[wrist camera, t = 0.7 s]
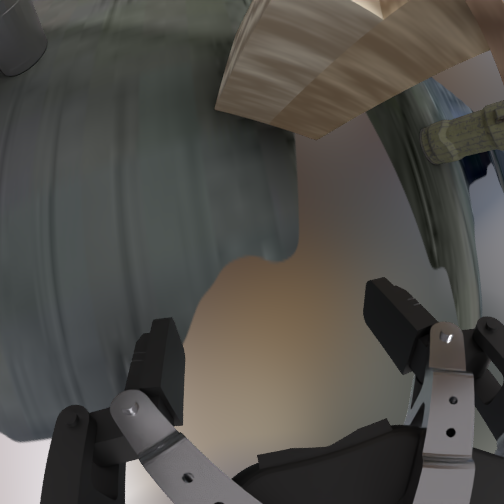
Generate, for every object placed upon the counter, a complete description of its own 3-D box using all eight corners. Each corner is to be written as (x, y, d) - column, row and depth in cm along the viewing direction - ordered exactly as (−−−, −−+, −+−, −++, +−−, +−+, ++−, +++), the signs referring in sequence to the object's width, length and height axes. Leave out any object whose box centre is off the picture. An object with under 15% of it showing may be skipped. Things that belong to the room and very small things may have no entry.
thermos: (410, 122, 48) (549, 74, 14) (439, 131, 51) (559, 97, 18) (419, 162, 48) (569, 129, 15) (447, 167, 52) (573, 143, 18)
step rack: (235, 34, 36) (328, -114, 5) (322, 65, 41) (451, -36, 10) (214, 109, 35) (337, -91, 5) (316, 140, 40) (502, 45, 10)
